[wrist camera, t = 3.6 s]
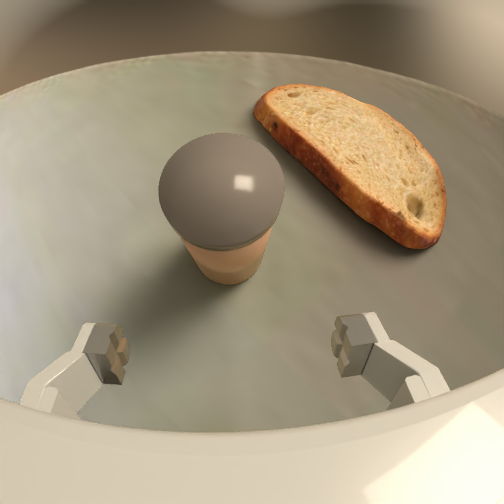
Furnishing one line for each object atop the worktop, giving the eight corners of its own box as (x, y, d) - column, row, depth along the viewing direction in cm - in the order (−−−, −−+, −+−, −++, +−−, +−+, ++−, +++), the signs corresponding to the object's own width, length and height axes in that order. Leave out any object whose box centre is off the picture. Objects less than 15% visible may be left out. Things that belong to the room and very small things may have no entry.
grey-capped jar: (204, 295, 22) (174, 262, 11) (186, 229, 23) (149, 152, 13) (273, 273, 23) (303, 222, 12) (251, 210, 24) (260, 122, 13)
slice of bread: (250, 93, 28) (252, 67, 24) (401, 103, 29) (414, 83, 25) (268, 264, 23) (274, 251, 20) (449, 249, 24) (473, 237, 21)
